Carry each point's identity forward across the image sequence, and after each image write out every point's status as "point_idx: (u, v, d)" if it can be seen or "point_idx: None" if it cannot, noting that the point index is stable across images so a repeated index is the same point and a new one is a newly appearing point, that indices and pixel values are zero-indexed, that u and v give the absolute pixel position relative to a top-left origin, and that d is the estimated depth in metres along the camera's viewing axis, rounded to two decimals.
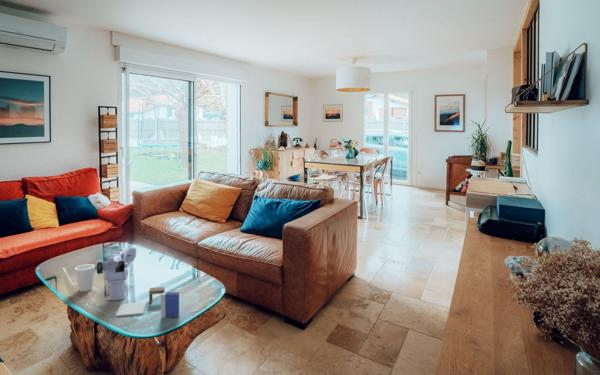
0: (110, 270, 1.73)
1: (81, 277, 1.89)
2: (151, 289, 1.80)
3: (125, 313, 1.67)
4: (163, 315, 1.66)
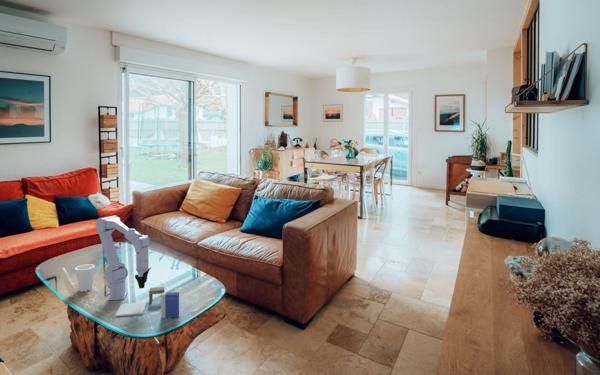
0: None
1: (81, 277, 1.89)
2: (151, 289, 1.80)
3: (125, 313, 1.67)
4: (163, 315, 1.66)
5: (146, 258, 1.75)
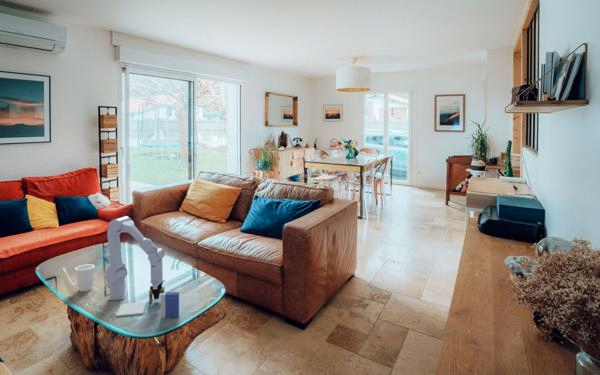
0: None
1: (81, 277, 1.89)
2: None
3: (125, 313, 1.67)
4: (163, 315, 1.66)
5: (161, 270, 1.80)
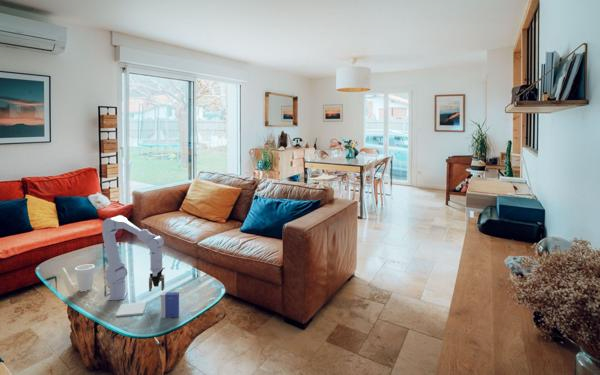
0: None
1: (81, 277, 1.89)
2: None
3: (125, 313, 1.67)
4: (163, 315, 1.66)
5: (161, 258, 1.79)
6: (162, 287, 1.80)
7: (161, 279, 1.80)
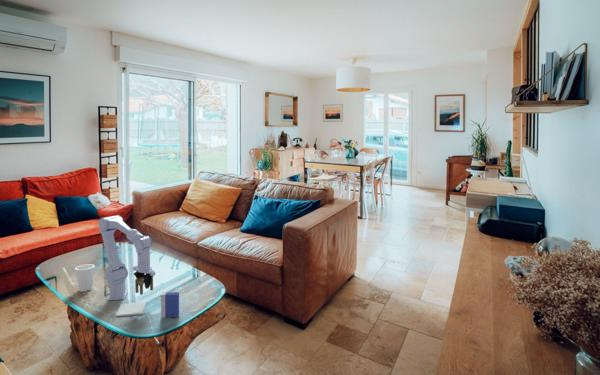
0: None
1: (81, 277, 1.89)
2: (140, 280, 1.73)
3: (125, 313, 1.67)
4: (163, 315, 1.66)
5: (147, 259, 1.73)
6: (152, 287, 1.78)
7: None
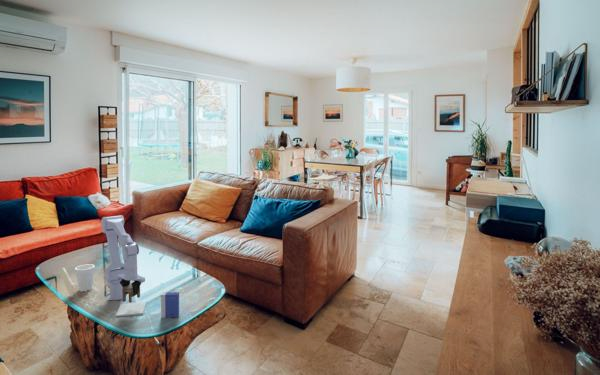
0: None
1: (81, 277, 1.89)
2: (128, 288, 1.69)
3: (125, 313, 1.67)
4: (163, 315, 1.66)
5: (133, 267, 1.68)
6: (139, 294, 1.74)
7: None
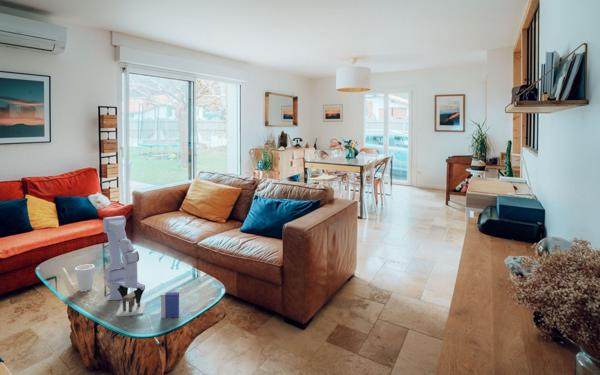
0: None
1: (81, 277, 1.89)
2: (128, 297, 1.69)
3: (125, 313, 1.67)
4: (163, 315, 1.66)
5: (133, 274, 1.68)
6: (139, 303, 1.75)
7: None
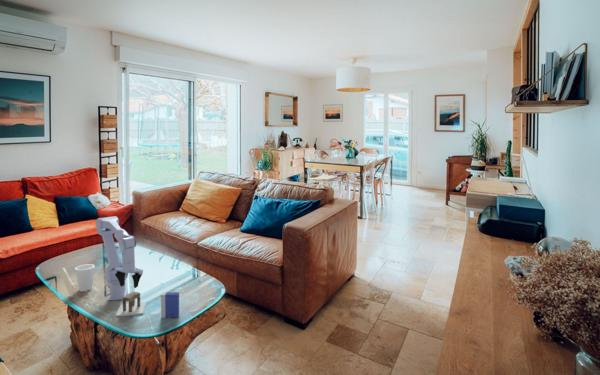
0: None
1: (81, 277, 1.89)
2: (128, 297, 1.69)
3: (125, 313, 1.67)
4: (163, 315, 1.66)
5: (130, 259, 1.72)
6: (139, 303, 1.75)
7: (138, 295, 1.74)
